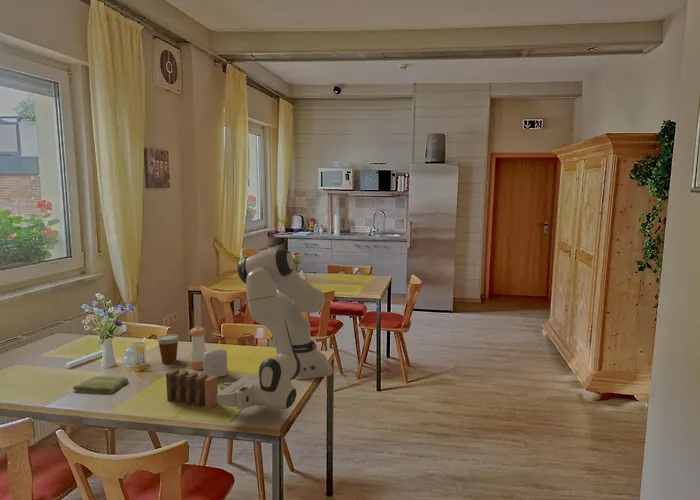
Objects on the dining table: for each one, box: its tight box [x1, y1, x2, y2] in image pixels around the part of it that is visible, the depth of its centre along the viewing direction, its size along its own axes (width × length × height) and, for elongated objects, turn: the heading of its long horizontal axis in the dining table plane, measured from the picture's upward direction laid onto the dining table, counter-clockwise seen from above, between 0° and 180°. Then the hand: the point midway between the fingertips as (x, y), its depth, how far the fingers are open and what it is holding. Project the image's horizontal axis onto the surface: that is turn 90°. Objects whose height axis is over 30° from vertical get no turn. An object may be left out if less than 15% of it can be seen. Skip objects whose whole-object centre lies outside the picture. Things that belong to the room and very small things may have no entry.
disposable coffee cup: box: [157, 333, 180, 365], centre depth 233 cm, size 10×10×12 cm
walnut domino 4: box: [195, 373, 208, 408], centre depth 188 cm, size 2×5×11 cm, turn 158°
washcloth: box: [72, 376, 129, 394], centre depth 204 cm, size 13×18×3 cm
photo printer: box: [203, 348, 228, 378], centre depth 215 cm, size 10×4×12 cm, turn 123°
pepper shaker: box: [189, 325, 207, 371], centre depth 226 cm, size 7×7×19 cm
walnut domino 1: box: [165, 368, 180, 402], centre depth 193 cm, size 2×5×11 cm, turn 159°
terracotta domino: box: [204, 375, 219, 410], centre depth 186 cm, size 2×5×11 cm, turn 158°
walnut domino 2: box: [175, 370, 190, 404], centre depth 191 cm, size 2×5×11 cm, turn 158°
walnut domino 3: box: [185, 371, 199, 406], centre depth 189 cm, size 2×5×11 cm, turn 159°
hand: (221, 386), depth 184 cm, fingers closed
